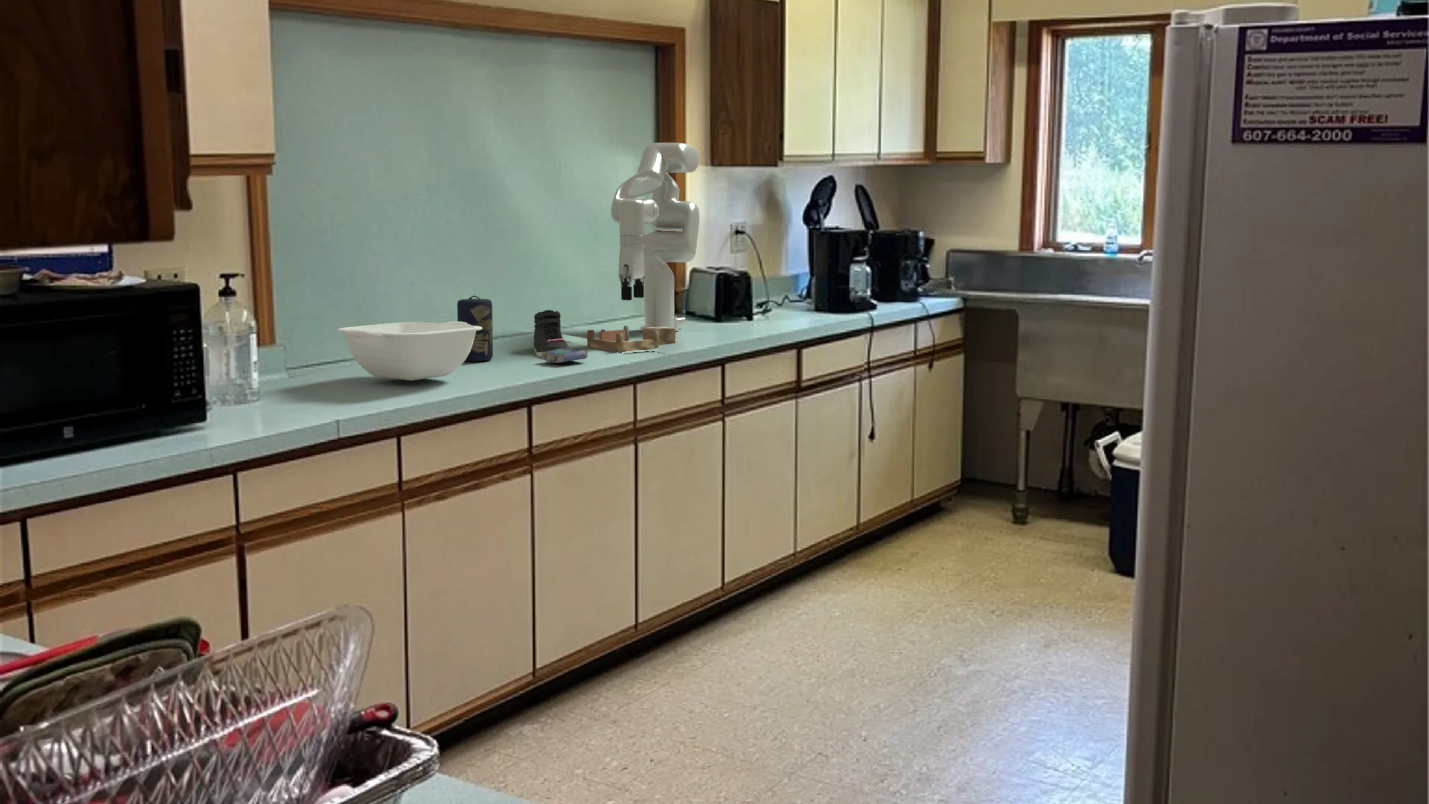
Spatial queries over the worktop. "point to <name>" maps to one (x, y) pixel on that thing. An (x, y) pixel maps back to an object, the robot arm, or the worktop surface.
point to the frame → (622, 343)
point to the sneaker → (548, 332)
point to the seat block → (660, 334)
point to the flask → (564, 355)
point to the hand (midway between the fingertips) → (632, 298)
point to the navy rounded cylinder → (478, 315)
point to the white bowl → (411, 348)
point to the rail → (614, 334)
